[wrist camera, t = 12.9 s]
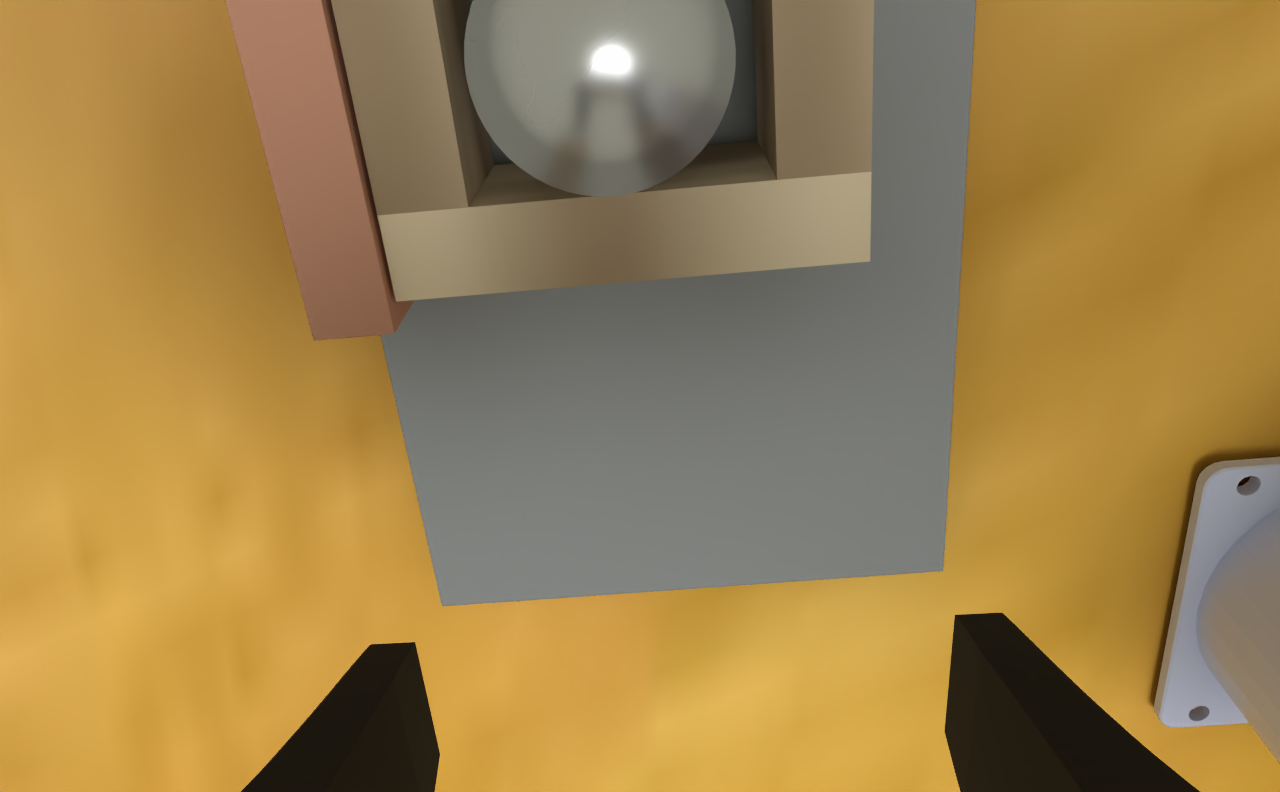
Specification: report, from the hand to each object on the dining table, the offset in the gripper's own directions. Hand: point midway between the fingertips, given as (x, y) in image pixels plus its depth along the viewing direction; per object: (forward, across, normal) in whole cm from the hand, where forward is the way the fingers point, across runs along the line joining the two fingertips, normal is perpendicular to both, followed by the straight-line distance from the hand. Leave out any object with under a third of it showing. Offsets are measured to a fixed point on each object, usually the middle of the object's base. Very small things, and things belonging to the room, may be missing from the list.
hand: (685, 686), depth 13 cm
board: (+10, 0, -4) cm, 11 cm away
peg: (+9, +1, -8) cm, 12 cm away
